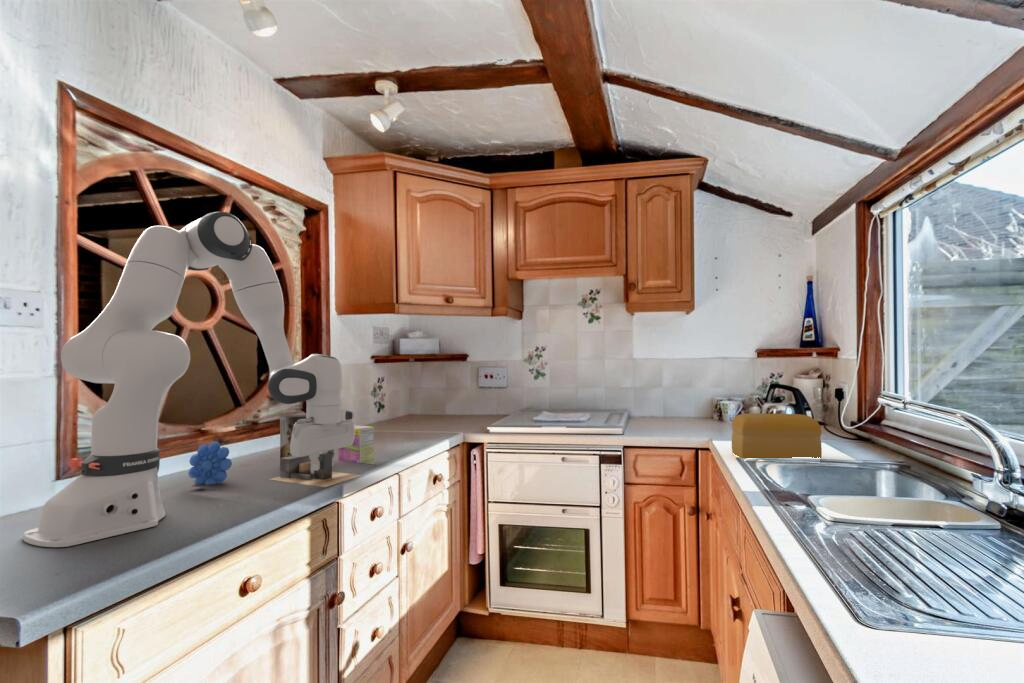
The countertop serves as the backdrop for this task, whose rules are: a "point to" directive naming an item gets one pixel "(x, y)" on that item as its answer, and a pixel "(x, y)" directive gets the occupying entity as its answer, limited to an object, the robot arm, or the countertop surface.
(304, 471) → the nut puck
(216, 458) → the grapes
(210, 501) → the countertop surface
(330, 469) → the ram handle
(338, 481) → the bench
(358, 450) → the box
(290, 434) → the coffee box
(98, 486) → the robot arm
